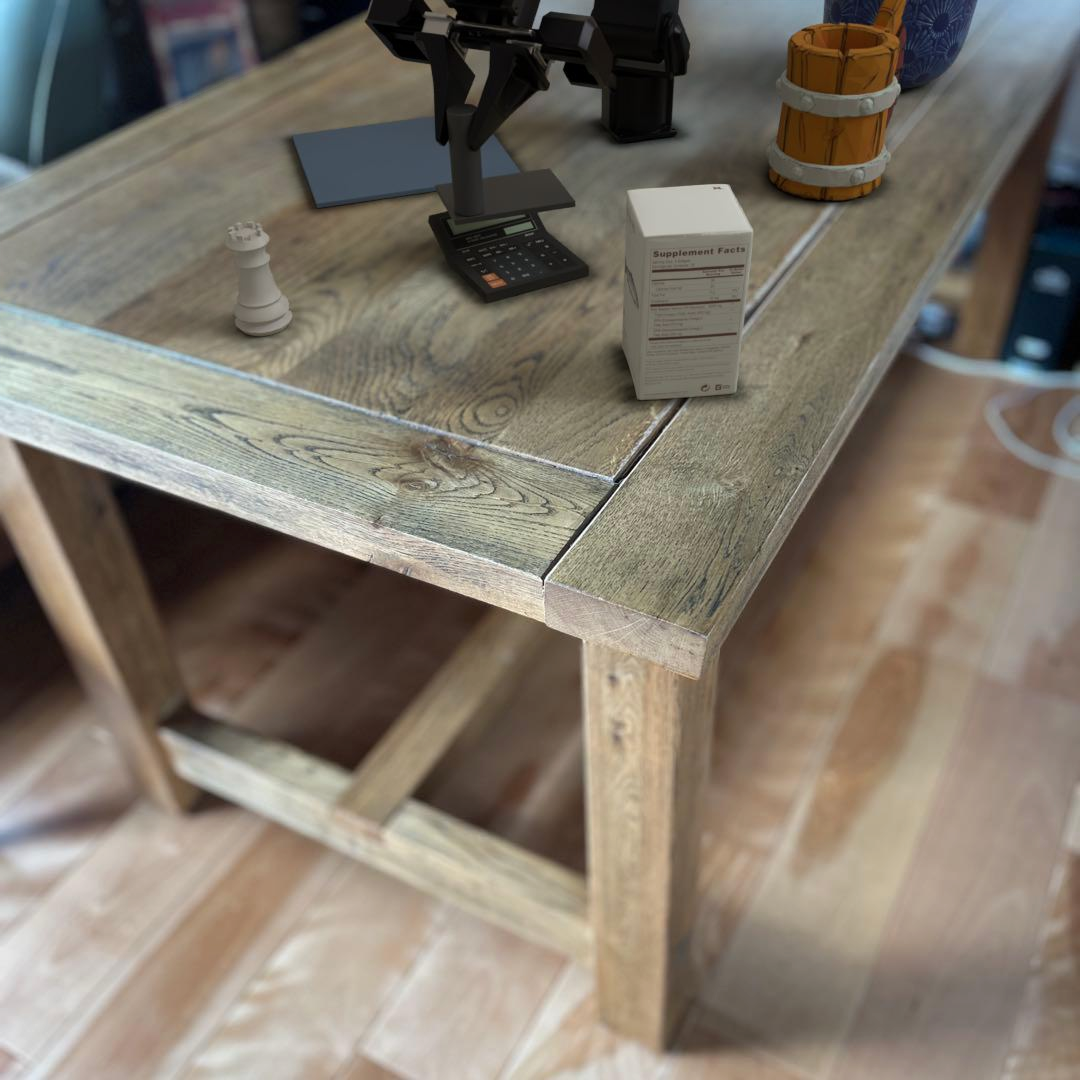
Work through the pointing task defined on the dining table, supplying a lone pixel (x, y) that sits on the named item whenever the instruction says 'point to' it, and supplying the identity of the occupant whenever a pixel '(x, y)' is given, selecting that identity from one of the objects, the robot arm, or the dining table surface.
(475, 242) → the calculator
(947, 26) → the planter
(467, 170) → the peg stand
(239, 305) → the rook chess piece
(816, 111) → the mug
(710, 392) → the white packaging box
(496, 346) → the dining table surface
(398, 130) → the felt mat
